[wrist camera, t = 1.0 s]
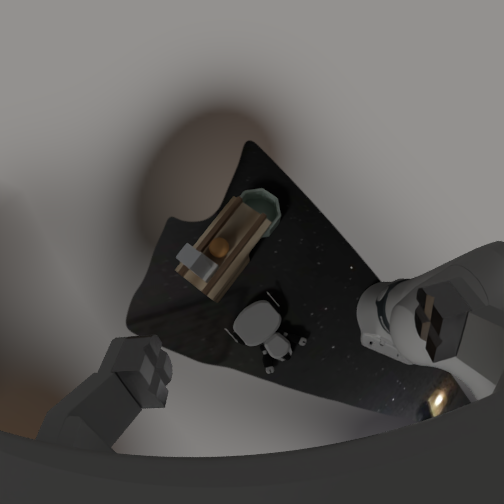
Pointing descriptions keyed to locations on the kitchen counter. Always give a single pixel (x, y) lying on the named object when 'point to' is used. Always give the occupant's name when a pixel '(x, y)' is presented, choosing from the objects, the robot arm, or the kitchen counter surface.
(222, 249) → the ball
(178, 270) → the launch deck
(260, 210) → the green octagonal bowl
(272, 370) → the robot toy
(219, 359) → the kitchen counter surface
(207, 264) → the tall post on base
